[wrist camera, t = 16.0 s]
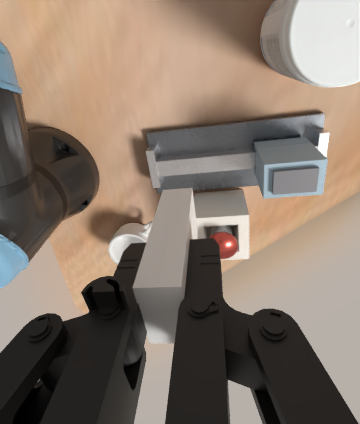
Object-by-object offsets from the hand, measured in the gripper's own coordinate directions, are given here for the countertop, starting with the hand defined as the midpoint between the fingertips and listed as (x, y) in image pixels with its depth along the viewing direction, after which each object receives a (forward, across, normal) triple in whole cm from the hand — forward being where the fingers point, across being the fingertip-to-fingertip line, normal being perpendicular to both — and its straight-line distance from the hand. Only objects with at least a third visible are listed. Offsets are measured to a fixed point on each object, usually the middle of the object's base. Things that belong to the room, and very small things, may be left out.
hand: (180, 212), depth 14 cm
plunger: (+27, +2, -18) cm, 33 cm away
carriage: (+28, +11, -8) cm, 31 cm away
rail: (+29, +4, -8) cm, 31 cm away
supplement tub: (+30, +13, +7) cm, 33 cm away
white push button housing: (+29, +2, -18) cm, 35 cm away
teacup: (+30, -13, -21) cm, 39 cm away
